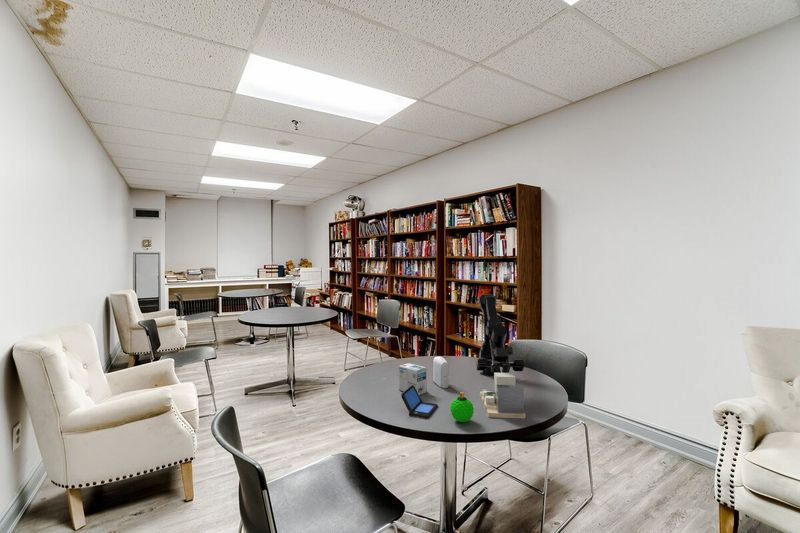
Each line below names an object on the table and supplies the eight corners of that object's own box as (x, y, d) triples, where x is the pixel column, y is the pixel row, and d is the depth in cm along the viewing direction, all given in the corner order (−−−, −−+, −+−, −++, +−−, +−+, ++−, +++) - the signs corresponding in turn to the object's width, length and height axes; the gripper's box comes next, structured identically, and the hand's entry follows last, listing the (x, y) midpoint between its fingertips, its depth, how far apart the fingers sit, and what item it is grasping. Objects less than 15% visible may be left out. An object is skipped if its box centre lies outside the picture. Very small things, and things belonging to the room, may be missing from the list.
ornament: (445, 422, 124) (445, 393, 124) (457, 414, 130) (457, 386, 130) (466, 428, 119) (466, 398, 119) (478, 420, 125) (478, 392, 125)
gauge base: (480, 394, 149) (479, 385, 149) (511, 395, 148) (511, 386, 148) (488, 417, 128) (488, 406, 127) (525, 418, 126) (525, 407, 126)
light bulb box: (427, 392, 153) (427, 366, 153) (417, 396, 148) (417, 370, 148) (408, 386, 160) (408, 362, 160) (398, 390, 155) (398, 365, 155)
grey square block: (496, 409, 131) (496, 384, 131) (521, 410, 130) (521, 385, 130) (498, 412, 128) (497, 387, 128) (523, 413, 127) (523, 388, 127)
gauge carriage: (485, 397, 141) (485, 372, 141) (512, 398, 140) (512, 372, 140) (488, 405, 134) (488, 378, 134) (517, 406, 133) (516, 379, 133)
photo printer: (450, 387, 158) (449, 359, 158) (441, 388, 156) (440, 360, 156) (440, 380, 167) (440, 354, 167) (432, 381, 166) (432, 355, 166)
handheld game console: (428, 420, 126) (428, 399, 126) (400, 415, 130) (400, 394, 130) (438, 406, 138) (438, 387, 138) (412, 402, 142) (412, 384, 142)
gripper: (477, 338, 147) (481, 373, 136) (523, 339, 145) (531, 374, 134) (474, 353, 155) (478, 387, 144) (519, 353, 153) (526, 388, 142)
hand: (503, 384), depth 141 cm, fingers closed, pressing on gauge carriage
